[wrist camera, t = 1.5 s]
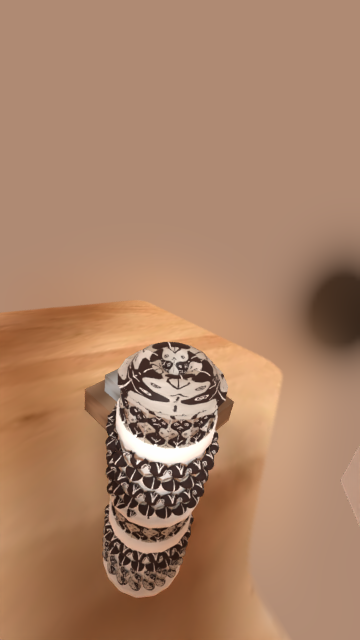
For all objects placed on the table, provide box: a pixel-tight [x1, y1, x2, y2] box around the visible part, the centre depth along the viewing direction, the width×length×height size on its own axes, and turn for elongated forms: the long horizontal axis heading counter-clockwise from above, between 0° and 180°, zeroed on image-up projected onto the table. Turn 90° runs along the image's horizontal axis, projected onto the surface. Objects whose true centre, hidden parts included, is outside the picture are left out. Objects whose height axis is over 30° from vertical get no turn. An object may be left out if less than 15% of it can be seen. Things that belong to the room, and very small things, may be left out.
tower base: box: [85, 369, 234, 430], centre depth 52 cm, size 16×16×7 cm
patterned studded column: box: [102, 342, 228, 598], centre depth 30 cm, size 9×9×25 cm
